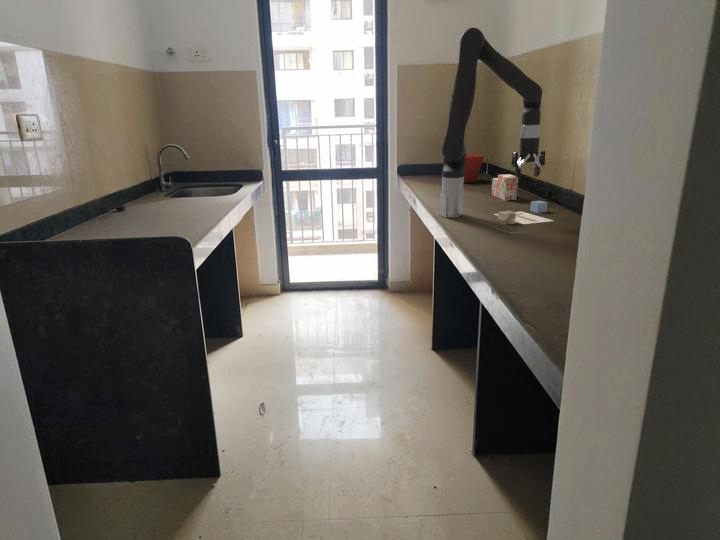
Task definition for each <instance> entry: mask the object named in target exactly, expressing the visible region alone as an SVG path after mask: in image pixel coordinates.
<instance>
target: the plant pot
mask: <svg viewBox="0 0 720 540" xmlns="http://www.w3.org/2000/svg"><path fill="white" fill-rule="evenodd" d="M442 156H443V155H442ZM443 158H444V156H443ZM484 158H485V155H478V154H467V153H465V169H464V183H463V184H467V183H476V182H477V181H478V178H479V176H480V173H481V172H480V171H481V169H482V167H483V166H482V165H483V162H484Z"/></svg>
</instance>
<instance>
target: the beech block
mask: <svg viewBox="0 0 720 540" xmlns="http://www.w3.org/2000/svg"><path fill="white" fill-rule="evenodd" d="M497 214H498V216H497V221H496V222H497V223H499V224H502V225H512V224H514V225H515V224H516V222H515V220H516V213H514V211H511V210H504V211H502V210H501V211H498V212H497Z"/></svg>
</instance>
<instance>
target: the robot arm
mask: <svg viewBox="0 0 720 540" xmlns="http://www.w3.org/2000/svg"><path fill="white" fill-rule="evenodd" d="M480 61H481V62H482V63H483V64H484V65H485V66H486V67H488V68H489V69H490V70H491V71H492V72H493V73H494V74H495V75H496V76H497V77H498V78H499V79H500V80H501V81H503V82H504V83H505V84H506V85H507V86H508V87H510V88H511V89H512V90H514V91H516V93H518V95H520V97H522V99H523V107H522V108H523V111H522V115H521V127H520V136H519V151H518V152H517V151H513V152H512V155H511V167H512V168H514V169H515V173H514V174H515V175H514V176H516V178H518V179H521V177H522V176H521V175H522V174H521V173H522V167H523V166H524V165H525V164H526V163H532V164H533V165H534V170H533V171H534V172H533V176H534V177H539V176H540V173H541V172H540V171H541V167H542V166H545V164H546V151H545V150H539V148H540V139H541V117H542V116H541V106H542V97H543V89H542V86H541V85H539V84H538V83H537V82H536V81H534V79H532V78H531V77H529V76H528V75H527V74H525V72H524V71H522V70H521V69H520V68H519V67H518V66H517V65H515V63H514V62H512V61H510V60H509V59H508V58H506V56H503V55H502V54H501V53H500V52H499V51H497V50H496V49H495V48H494V47H493V46H492V45H491V44H490V42H489V41H488V40H487V39H486V37H485V35H484V34H483V32H482V30H481V29H479V28H477V27H469V28H467V29H466V30H464V32H463V33H462V35H461V36H460V40H459V53H458V64H457V69H456V73H455V77H454V82H453V86H452V91H451V97H450V103H449V104H450V105H449V111H448V112H449V113H448V123H447V129H446V132H445V137H444V141H443V145H442V146H441V147H442V148H441V153H442V156H444V157H443V167H442V171H441V173H442V174H441V175H442V176H441V193H440V194H439V214H438V215H439V216H441V217H443V218H460V217H463V208H464V207H463V205H464V184H465V183H464V169H465V154H467V153H466V152H467V151H466V144H465V132H466V128H467V124H468V122H469V119H470V117H471V113H472V110H473V105H474V100H475V94H476V89H477V88H476V86H477V68H478V67H477V65H478V63H479V62H480Z"/></svg>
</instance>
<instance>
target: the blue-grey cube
mask: <svg viewBox="0 0 720 540" xmlns="http://www.w3.org/2000/svg"><path fill="white" fill-rule="evenodd" d="M529 207H530V209H529V211H530V212H533V213H536V214H538V213H539V214H540V213H542V214H543V213H547V212H548V202H547V201H543V200H533V201H530V206H529Z"/></svg>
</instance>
